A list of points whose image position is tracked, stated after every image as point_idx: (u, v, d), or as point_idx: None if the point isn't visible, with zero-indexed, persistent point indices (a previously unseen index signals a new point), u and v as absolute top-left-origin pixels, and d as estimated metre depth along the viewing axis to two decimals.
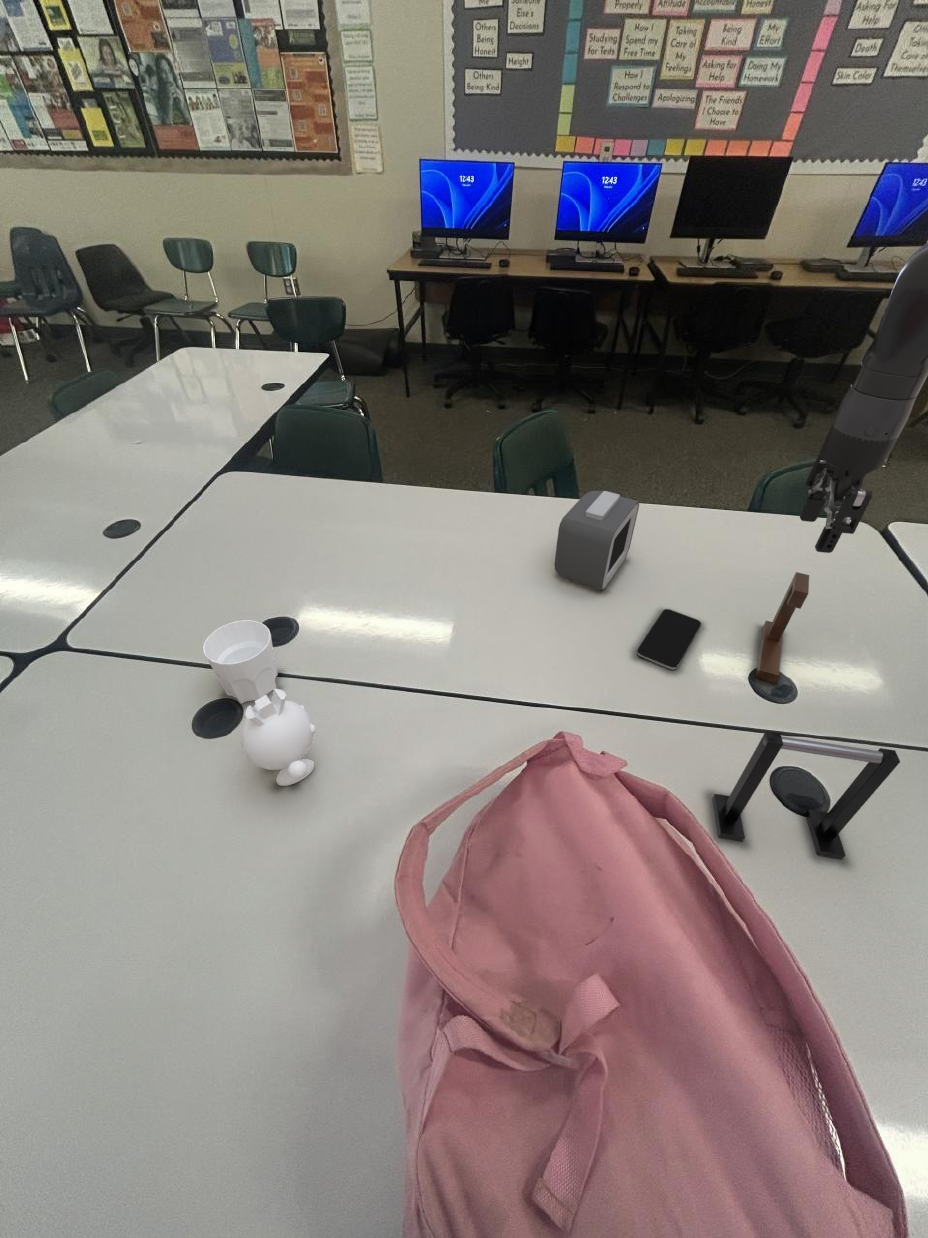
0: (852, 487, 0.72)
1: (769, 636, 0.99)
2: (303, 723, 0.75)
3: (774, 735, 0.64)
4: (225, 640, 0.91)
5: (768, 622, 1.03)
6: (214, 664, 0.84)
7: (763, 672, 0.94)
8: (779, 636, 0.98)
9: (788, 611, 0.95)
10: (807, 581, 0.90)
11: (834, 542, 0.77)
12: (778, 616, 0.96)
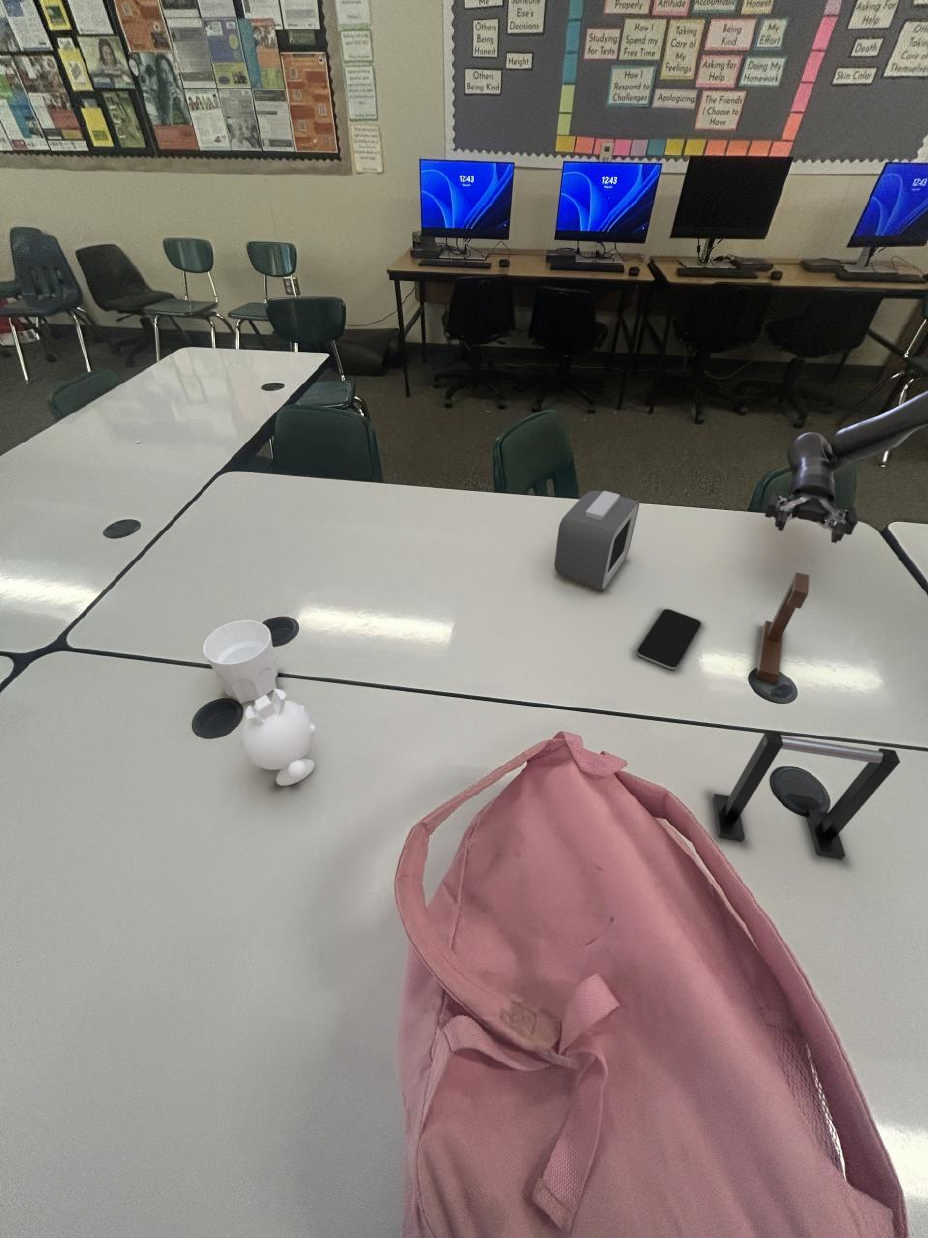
0: None
1: (769, 636, 0.99)
2: (303, 723, 0.75)
3: (774, 735, 0.64)
4: (225, 640, 0.91)
5: (768, 622, 1.03)
6: (214, 664, 0.84)
7: (763, 672, 0.94)
8: (779, 636, 0.98)
9: (788, 611, 0.95)
10: (807, 581, 0.90)
11: (777, 517, 1.00)
12: (778, 616, 0.96)
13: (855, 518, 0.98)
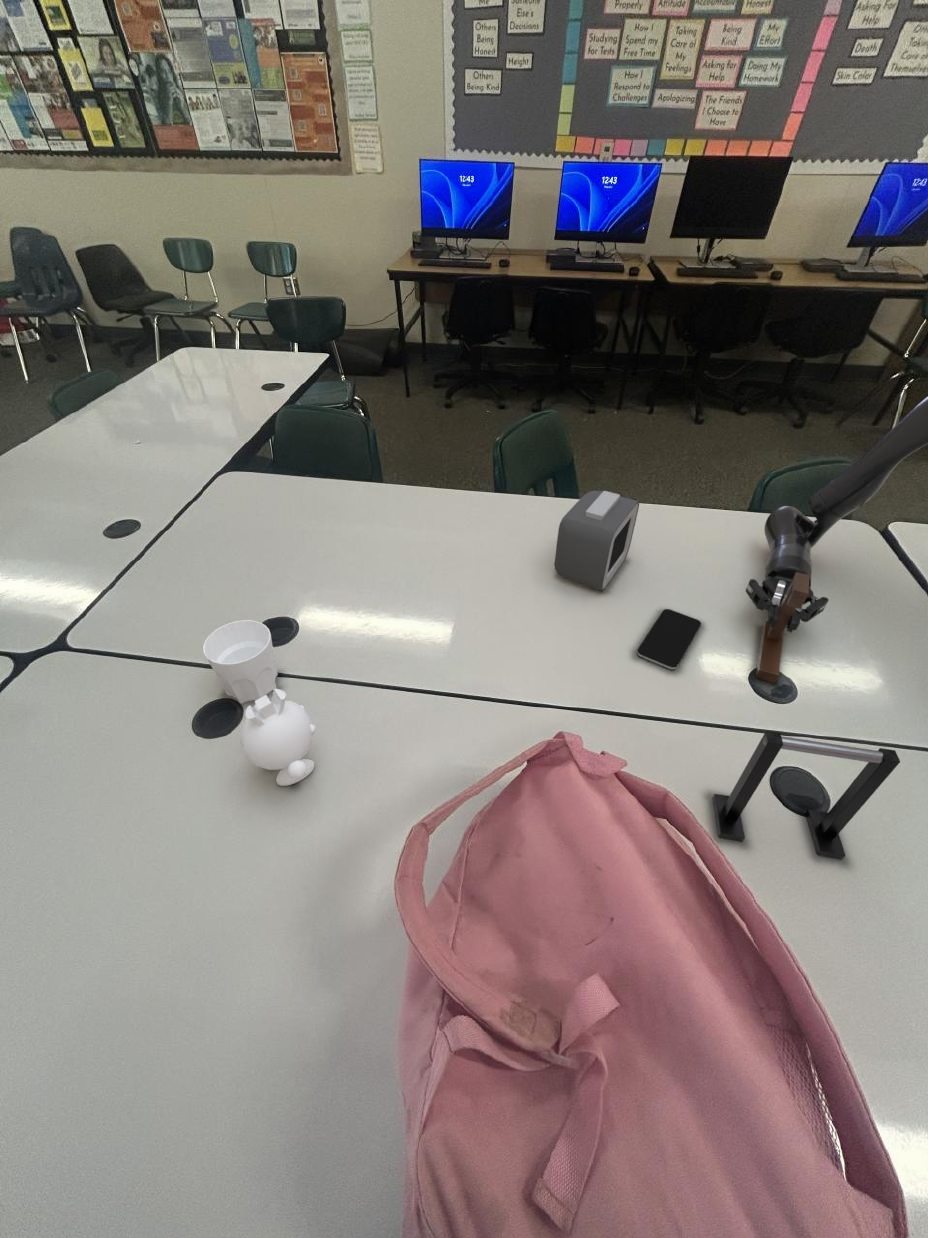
0: None
1: (769, 636, 0.99)
2: (303, 723, 0.75)
3: (774, 735, 0.64)
4: (225, 640, 0.91)
5: None
6: (214, 664, 0.84)
7: (763, 672, 0.94)
8: (779, 636, 0.98)
9: (788, 611, 0.95)
10: (807, 581, 0.90)
11: (769, 612, 0.96)
12: None
13: (815, 607, 0.96)
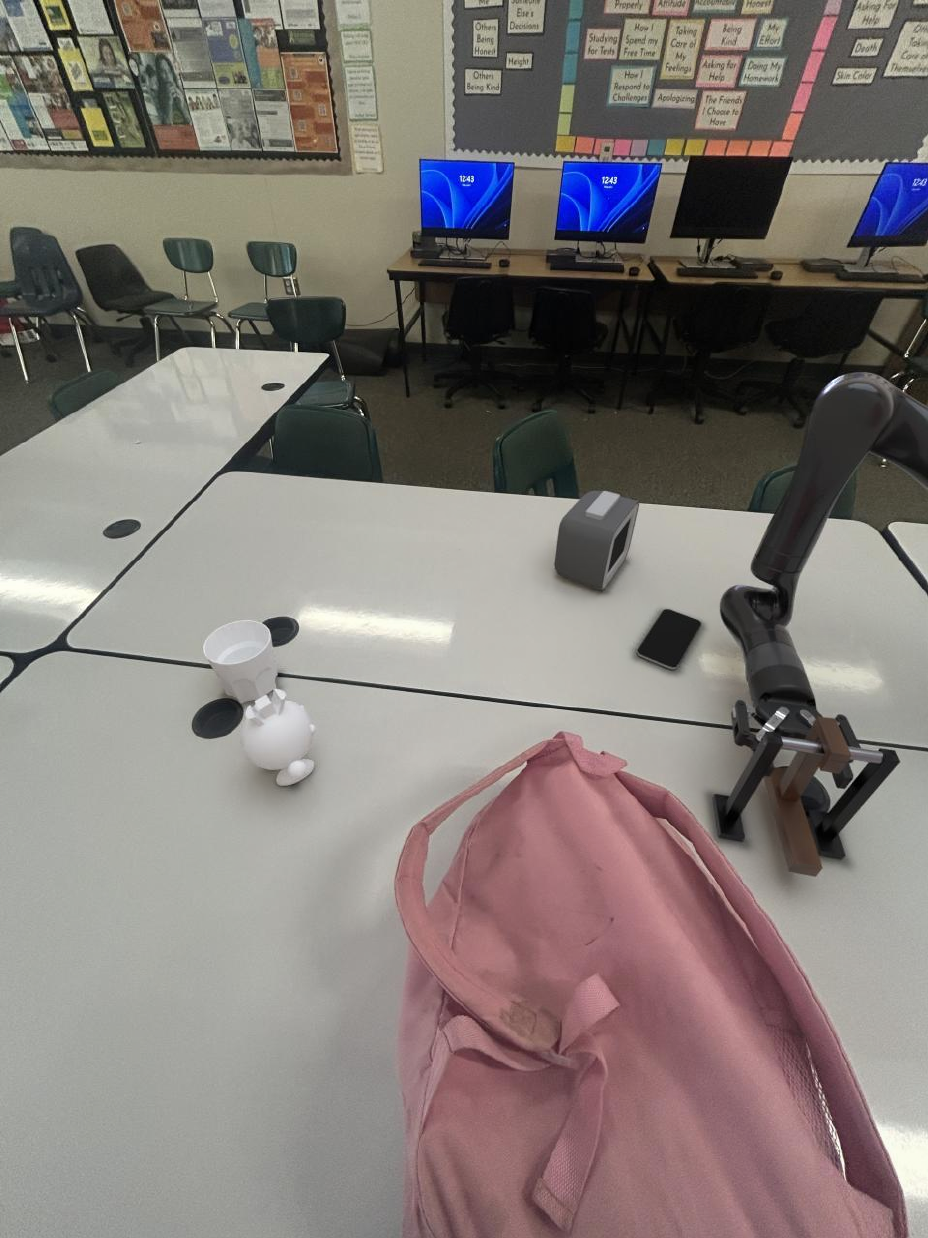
0: None
1: (784, 796, 0.71)
2: (303, 723, 0.75)
3: (774, 735, 0.64)
4: (225, 640, 0.91)
5: None
6: (214, 664, 0.84)
7: (800, 865, 0.65)
8: (797, 795, 0.70)
9: (812, 767, 0.67)
10: (839, 732, 0.63)
11: None
12: (797, 774, 0.68)
13: (855, 740, 0.70)
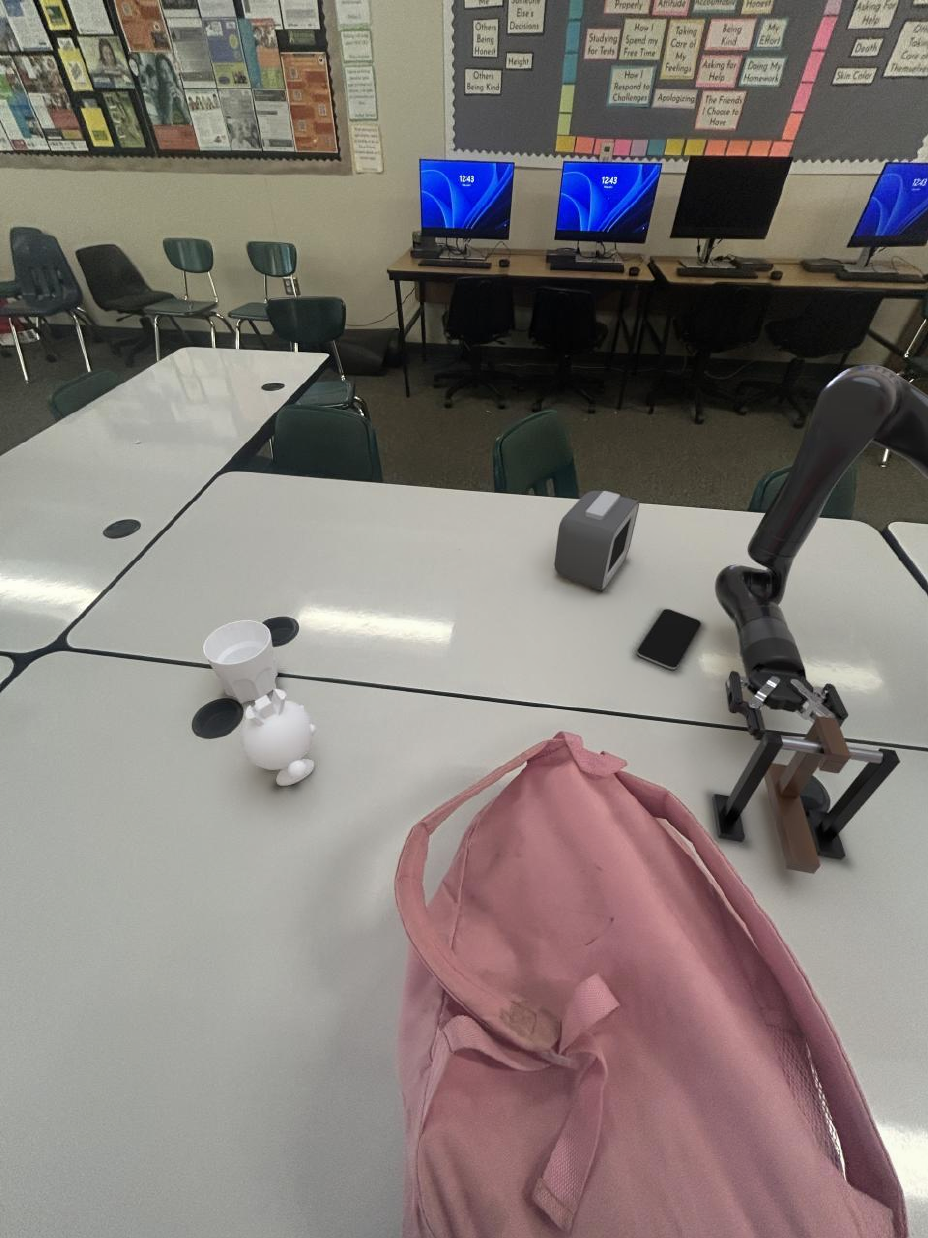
0: None
1: (784, 794, 0.71)
2: (303, 723, 0.75)
3: (774, 735, 0.64)
4: (225, 640, 0.91)
5: (771, 765, 0.75)
6: (214, 664, 0.84)
7: (798, 863, 0.65)
8: (797, 792, 0.71)
9: (811, 766, 0.67)
10: (839, 732, 0.63)
11: (749, 720, 0.74)
12: (796, 772, 0.68)
13: (842, 707, 0.74)
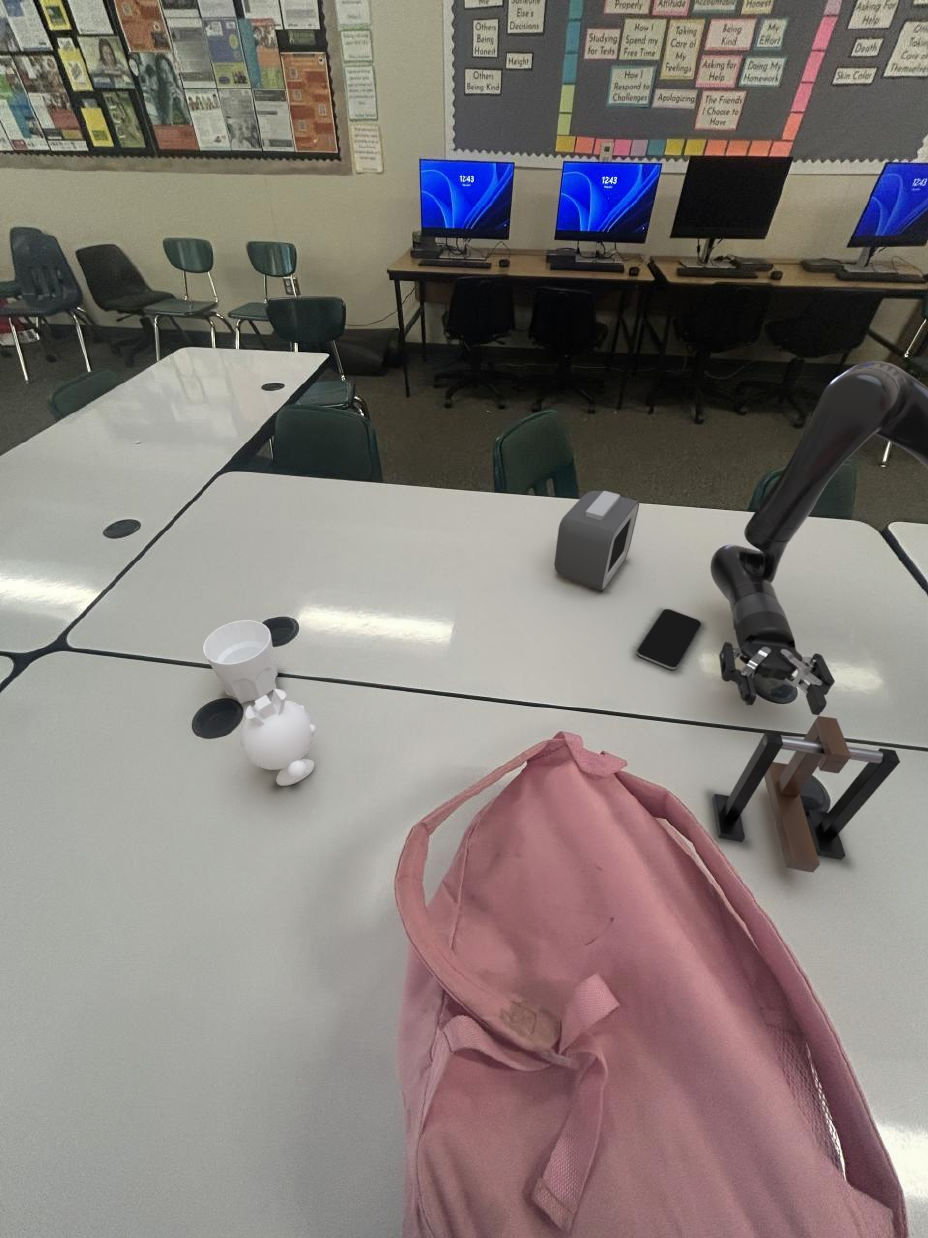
0: None
1: (783, 792, 0.71)
2: (303, 723, 0.75)
3: (774, 735, 0.64)
4: (225, 640, 0.91)
5: (771, 764, 0.75)
6: (214, 664, 0.84)
7: (798, 862, 0.65)
8: (797, 791, 0.71)
9: (811, 765, 0.67)
10: (839, 732, 0.63)
11: (741, 687, 0.78)
12: (796, 772, 0.68)
13: (829, 674, 0.79)
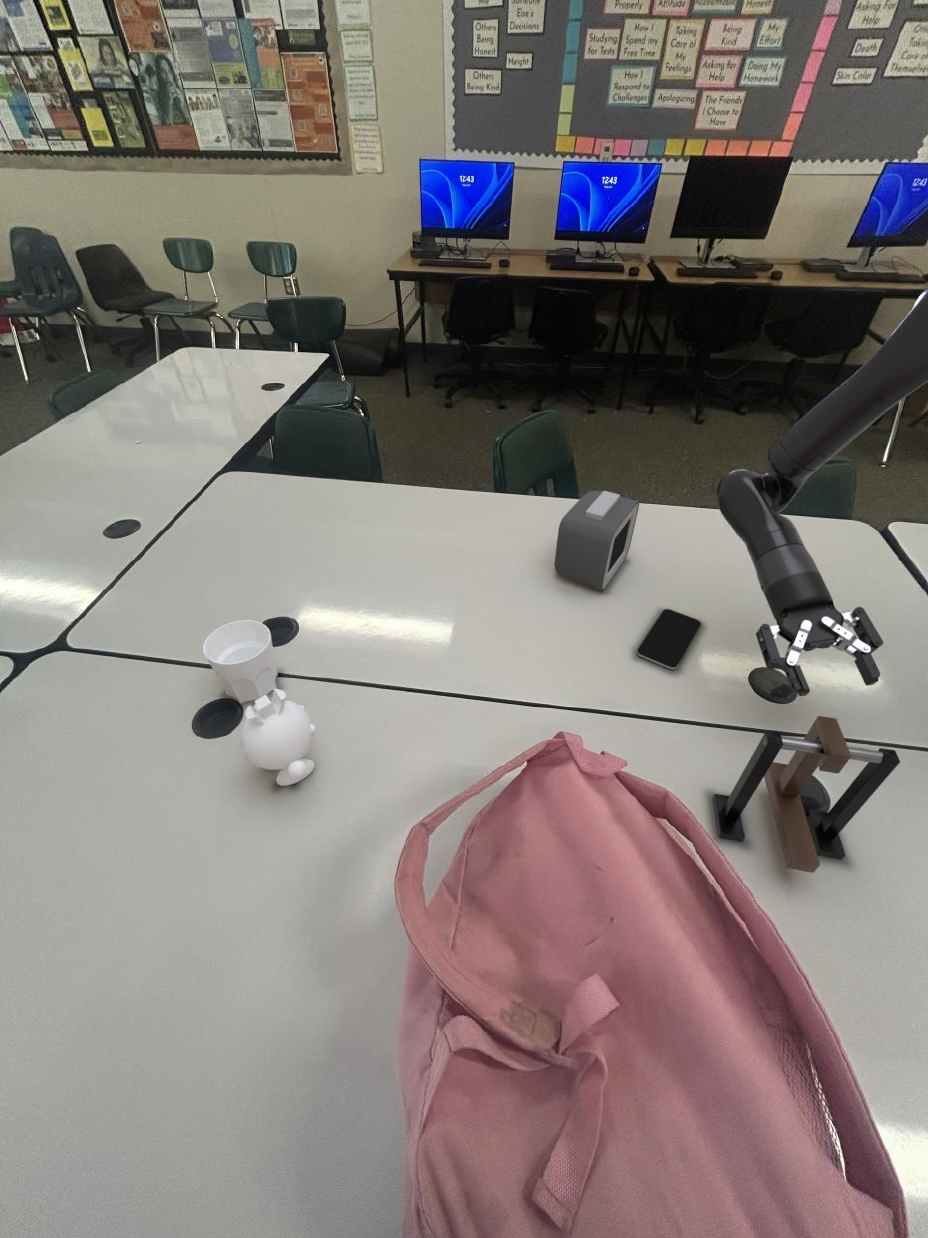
0: None
1: (783, 793, 0.71)
2: (303, 723, 0.75)
3: (774, 735, 0.64)
4: (225, 640, 0.91)
5: (771, 764, 0.75)
6: (214, 664, 0.84)
7: (798, 862, 0.65)
8: (797, 791, 0.71)
9: (811, 765, 0.67)
10: (839, 732, 0.63)
11: (791, 680, 0.75)
12: (796, 772, 0.68)
13: (876, 633, 0.75)
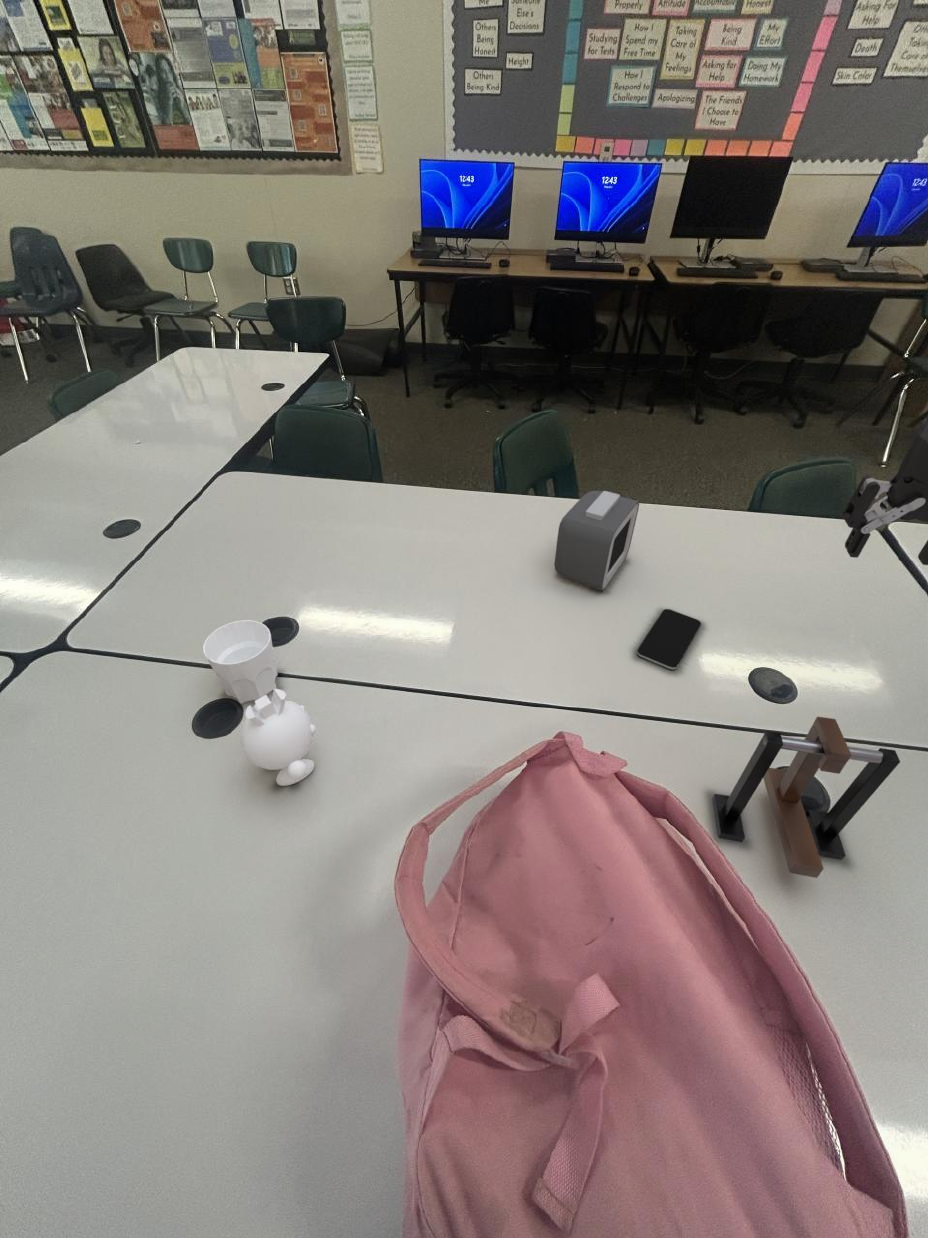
0: None
1: (785, 798, 0.71)
2: (303, 723, 0.75)
3: (774, 735, 0.64)
4: (225, 640, 0.91)
5: (772, 770, 0.75)
6: (214, 664, 0.84)
7: (801, 866, 0.64)
8: (798, 796, 0.70)
9: (812, 768, 0.67)
10: (839, 732, 0.63)
11: (851, 541, 0.72)
12: (797, 775, 0.68)
13: None
